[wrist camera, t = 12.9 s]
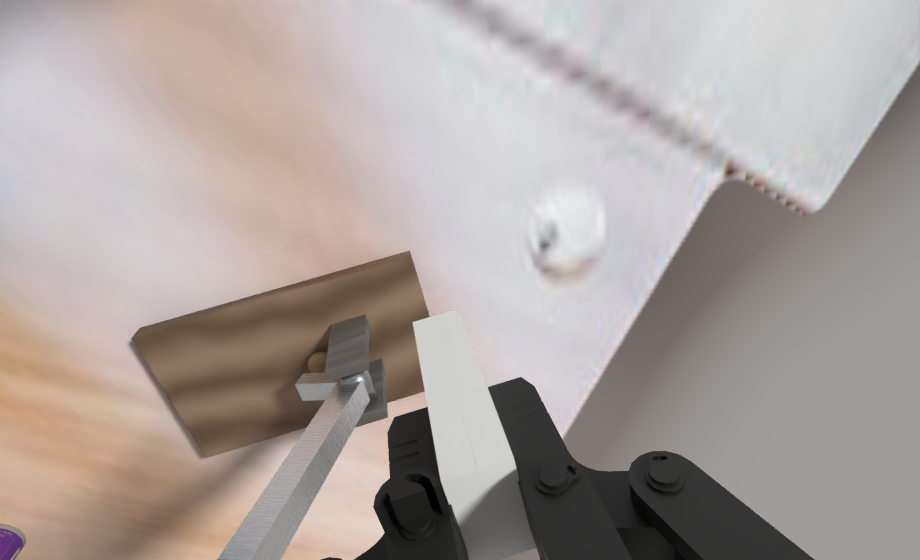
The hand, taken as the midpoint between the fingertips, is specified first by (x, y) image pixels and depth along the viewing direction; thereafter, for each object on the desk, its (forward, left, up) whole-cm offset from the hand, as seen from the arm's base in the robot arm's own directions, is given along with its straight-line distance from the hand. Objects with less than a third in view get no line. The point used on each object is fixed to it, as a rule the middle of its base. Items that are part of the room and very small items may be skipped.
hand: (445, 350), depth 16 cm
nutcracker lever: (+17, -10, -28) cm, 34 cm away
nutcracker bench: (+17, -15, -34) cm, 41 cm away
